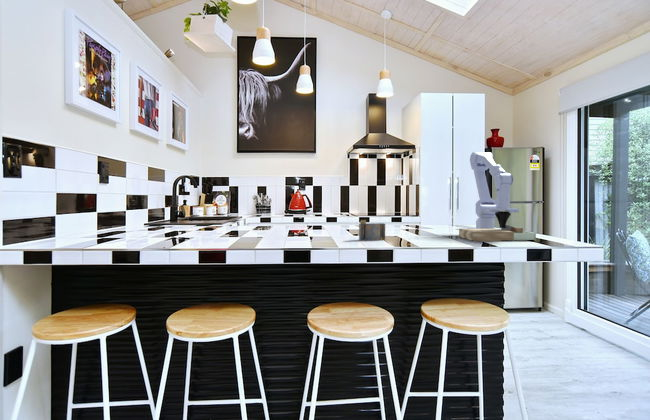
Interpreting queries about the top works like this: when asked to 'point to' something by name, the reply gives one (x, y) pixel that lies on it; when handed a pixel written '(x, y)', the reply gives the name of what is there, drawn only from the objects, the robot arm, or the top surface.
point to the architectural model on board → (371, 231)
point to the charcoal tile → (506, 228)
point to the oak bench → (486, 234)
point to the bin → (525, 236)
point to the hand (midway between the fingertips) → (502, 227)
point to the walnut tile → (517, 229)
